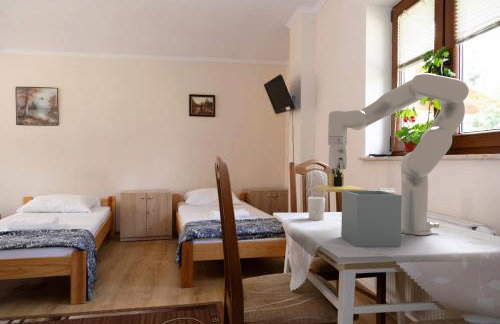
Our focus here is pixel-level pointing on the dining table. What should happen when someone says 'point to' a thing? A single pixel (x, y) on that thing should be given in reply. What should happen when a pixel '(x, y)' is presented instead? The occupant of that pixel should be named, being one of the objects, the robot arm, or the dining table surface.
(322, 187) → the lid
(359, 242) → the tub
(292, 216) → the dining table surface
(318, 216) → the white cup
